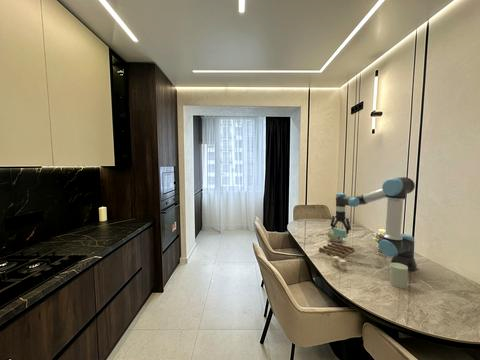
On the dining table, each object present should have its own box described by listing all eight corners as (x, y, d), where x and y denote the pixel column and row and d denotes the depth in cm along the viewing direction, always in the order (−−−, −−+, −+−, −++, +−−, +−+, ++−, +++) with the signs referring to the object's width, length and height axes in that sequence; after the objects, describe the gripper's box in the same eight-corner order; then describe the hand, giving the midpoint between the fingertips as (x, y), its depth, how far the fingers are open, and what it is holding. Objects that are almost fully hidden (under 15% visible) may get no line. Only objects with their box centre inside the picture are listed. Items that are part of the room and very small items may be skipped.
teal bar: (347, 237, 193) (347, 230, 192) (344, 238, 190) (344, 231, 190) (335, 234, 201) (336, 227, 200) (333, 235, 198) (333, 228, 198)
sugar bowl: (348, 244, 208) (348, 228, 208) (332, 244, 208) (332, 228, 207) (338, 237, 228) (338, 222, 227) (323, 237, 228) (324, 223, 227)
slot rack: (354, 250, 192) (354, 247, 191) (341, 258, 177) (341, 254, 176) (332, 244, 207) (332, 241, 207) (318, 251, 192) (318, 248, 192)
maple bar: (346, 269, 158) (346, 261, 158) (342, 270, 157) (342, 262, 157) (336, 263, 168) (336, 255, 167) (331, 264, 167) (331, 256, 166)
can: (390, 278, 144) (390, 260, 143) (408, 283, 138) (408, 264, 137) (388, 284, 137) (389, 265, 136) (407, 289, 131) (407, 269, 130)
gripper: (355, 212, 188) (355, 238, 189) (330, 208, 205) (330, 232, 207) (351, 213, 183) (351, 240, 184) (326, 209, 200) (325, 233, 202)
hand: (340, 236), depth 195 cm, fingers closed on teal bar, 10 cm apart
